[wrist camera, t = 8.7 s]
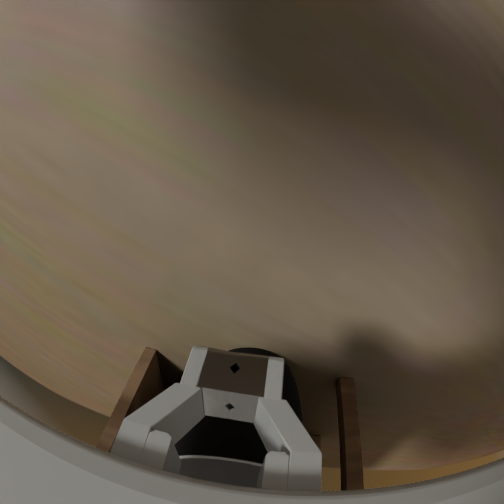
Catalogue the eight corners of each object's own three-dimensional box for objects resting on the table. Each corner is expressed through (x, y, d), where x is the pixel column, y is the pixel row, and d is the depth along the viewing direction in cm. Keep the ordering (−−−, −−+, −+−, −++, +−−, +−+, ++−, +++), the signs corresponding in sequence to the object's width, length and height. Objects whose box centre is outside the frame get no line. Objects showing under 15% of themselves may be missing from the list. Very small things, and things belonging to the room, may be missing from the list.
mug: (211, 319, 22) (169, 440, 13) (324, 352, 22) (329, 473, 13) (187, 399, 27) (159, 486, 18) (271, 422, 28) (261, 509, 19)
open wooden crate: (145, 347, 24) (81, 480, 12) (353, 378, 23) (364, 528, 11) (162, 415, 30) (126, 514, 18) (317, 439, 29) (314, 545, 17)
